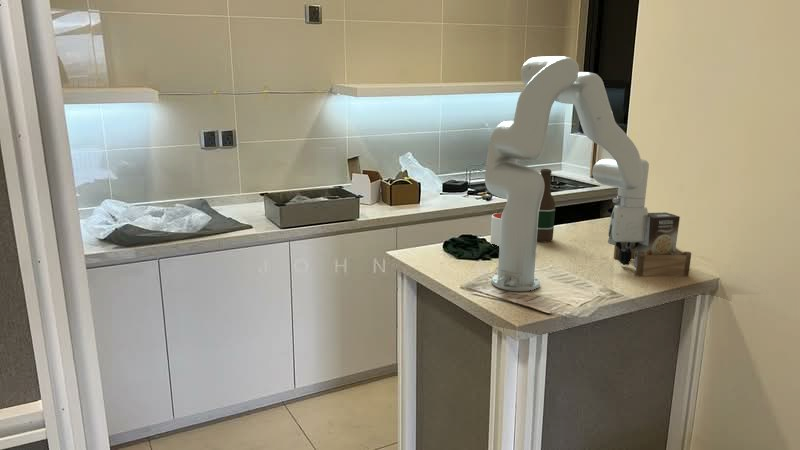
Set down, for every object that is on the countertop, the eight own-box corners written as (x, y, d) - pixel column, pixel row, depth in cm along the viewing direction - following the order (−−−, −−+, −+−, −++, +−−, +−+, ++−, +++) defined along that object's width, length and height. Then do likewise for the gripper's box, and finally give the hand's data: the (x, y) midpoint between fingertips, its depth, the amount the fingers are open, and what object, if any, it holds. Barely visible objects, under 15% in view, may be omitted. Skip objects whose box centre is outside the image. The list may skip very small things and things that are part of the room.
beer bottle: (527, 240, 212) (532, 170, 206) (531, 235, 219) (536, 167, 213) (550, 243, 209) (556, 171, 204) (554, 238, 216) (559, 168, 211)
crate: (688, 276, 177) (691, 252, 176) (637, 276, 176) (640, 252, 175) (659, 258, 194) (662, 236, 193) (613, 258, 194) (615, 236, 192)
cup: (488, 241, 210) (489, 212, 208) (518, 242, 210) (519, 213, 208) (492, 250, 201) (494, 219, 198) (524, 250, 201) (526, 219, 198)
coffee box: (646, 272, 180) (652, 217, 176) (632, 265, 186) (638, 212, 182) (673, 270, 182) (680, 216, 179) (659, 264, 188) (665, 211, 185)
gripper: (610, 204, 176) (604, 267, 181) (662, 205, 177) (654, 267, 182) (600, 199, 184) (594, 259, 188) (650, 199, 185) (643, 260, 189)
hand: (624, 263), depth 185 cm, fingers closed
